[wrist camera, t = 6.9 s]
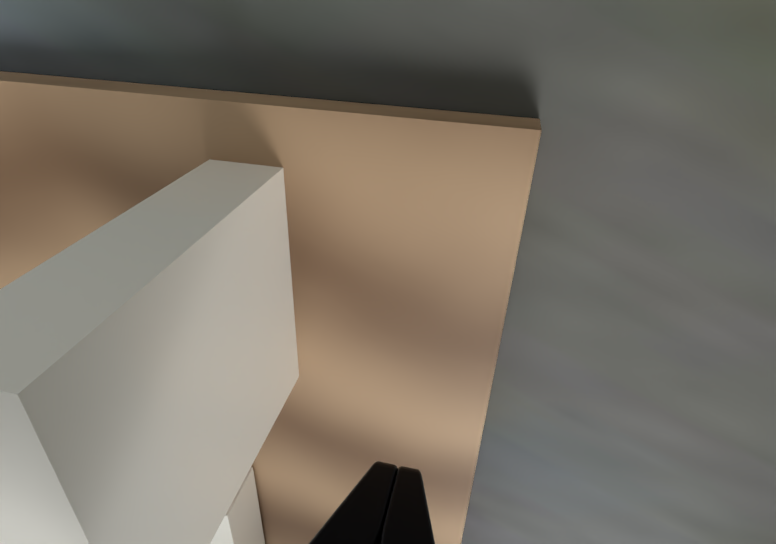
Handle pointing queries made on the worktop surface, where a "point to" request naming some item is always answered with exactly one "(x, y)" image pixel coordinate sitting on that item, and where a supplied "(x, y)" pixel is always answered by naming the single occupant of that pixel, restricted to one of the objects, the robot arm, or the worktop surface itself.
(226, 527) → the tile
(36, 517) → the tile
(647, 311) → the worktop surface
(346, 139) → the board
